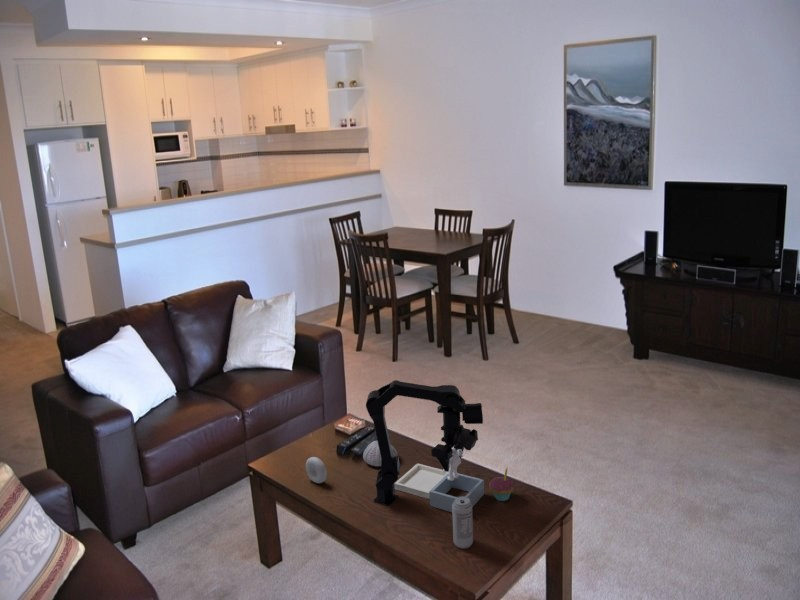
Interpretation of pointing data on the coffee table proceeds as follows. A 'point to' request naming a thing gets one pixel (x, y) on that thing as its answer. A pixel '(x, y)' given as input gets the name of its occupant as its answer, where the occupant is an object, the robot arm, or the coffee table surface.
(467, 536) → the energy drink can
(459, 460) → the flower shoulder figurine
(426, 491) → the tray
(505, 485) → the cupcake
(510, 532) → the coffee table surface
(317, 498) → the coffee table surface
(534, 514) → the coffee table surface
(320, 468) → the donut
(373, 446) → the sea urchin shell
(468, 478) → the deep square frame
